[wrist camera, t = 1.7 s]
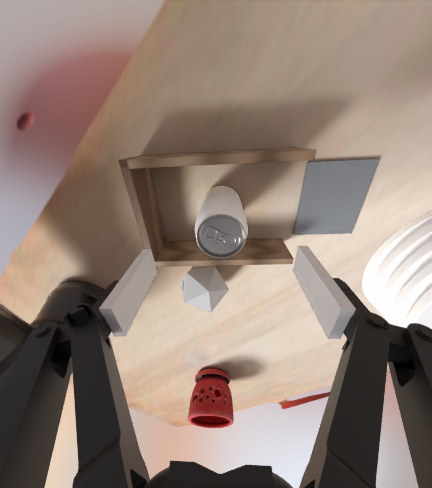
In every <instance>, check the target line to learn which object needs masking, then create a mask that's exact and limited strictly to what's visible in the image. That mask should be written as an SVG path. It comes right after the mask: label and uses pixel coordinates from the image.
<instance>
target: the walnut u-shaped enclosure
mask: <svg viewBox="0 0 432 488" xmlns="http://www.w3.org/2000/svg"><path fill="white" fill-rule="evenodd" d="M315 154H316V150H312V149H304V148H279V149H260V150H241V151H222V152H203V153H184V154H165V155H146V156H137V157H132V158H127V159H122V160H119V163H120V166H121V170H122V173H123V176H124V180H125V183H126V187H127V190H128V193H129V197H130V200H131V203H132V207H133V210H134V214H135V217H136V220H137V224H138V227H139V230H140V234H141V237H142V241H143V244H144V247H145V249H151V251H152V254H153V258H154V262H155V265H156V267H163V266H214V265H264V264H292V263H293V257H292V256H291V254H290V252H289V250H288V249H287V247H286V245H285V244H284V242H283V240H282V239H250V240H246V241H245V244H244V246H243V248H242V249H241V250H240V251H239V252H238V253H237V254H235V255H234V256H231V257H228V258H214V257H211V256H209V255H207V254H206V253H204V252H203V251H202V250H201V249H200V247H199V246H198V243H197V241H176V242H166V240H165V236H164V231H163V227H162V222H161V218H160V213H159V209H158V204H157V199H156V195H155V190H154V186H153V181H152V177H151V172H150V168H156V167H176V166H197V165H217V164H237V163H258V162H278V161H299V160H314V159H315Z"/></svg>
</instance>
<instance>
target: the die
mask: <svg viewBox="0 0 432 488" xmlns="http://www.w3.org/2000/svg"><path fill="white" fill-rule="evenodd" d="M180 287H181V291H182V295H183V300H184V303H186V304H189V305H192V306H195V307H197V308H200V309H203V310H206V311H208V312H212V311H213V309H214V308H215V307H216V305H217V304H218V303H219V302H220V300H221V299H222V298H223V296H224V295H225V294H226V293H227V291H228V290H229V289H228V287H227V285H226V284H225V282H224V280H223V278H222V277H221V275H220V273H219V272H218V270H217V268H216V267H215V266H194V267H193V268H192V269H191V270H190V271H189V272H188V273H187V274H186V275H185V277H184V278H183V279H182V281H181V282H180Z"/></svg>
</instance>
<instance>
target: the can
mask: <svg viewBox="0 0 432 488" xmlns="http://www.w3.org/2000/svg"><path fill="white" fill-rule="evenodd" d="M247 234H248V225H247V221H246V217H245V214H244V210H243V207H242V204H241V201H240V198H239V196H238V194H237V193H236V192H235V191H234V190H233V189H232V188H230V187H227V186H216V187H213V188H212V189H210V190H209V191H208V192H207V193H206V194H205V196H204V198H203V201H202V204H201V207H200V210H199V213H198V216H197V220H196V223H195V236H196V240H197V243H198V246H199V247H200V249H201V250H202V251H203V252H204V253H206V254H207V255H209V256H211V257H214V258H228V257H231V256H234V255H235V254H237V253H238V252H239V251H240V250H241V249H242V248H243V246H244V244H245V241H246V238H247Z"/></svg>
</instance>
